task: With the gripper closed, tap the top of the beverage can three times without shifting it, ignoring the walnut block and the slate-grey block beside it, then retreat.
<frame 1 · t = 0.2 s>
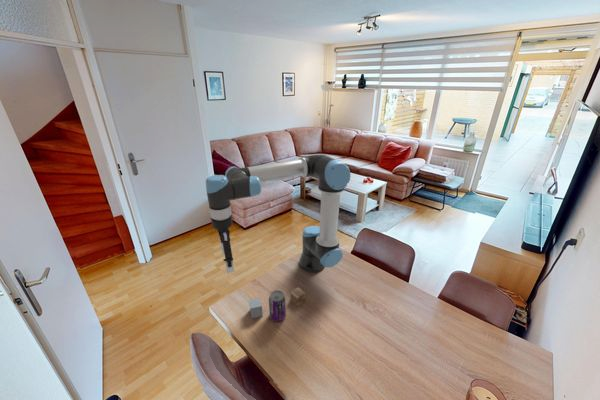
hand: (228, 262, 105), 28 cm above the table, fingers open, 13 cm apart
slate block: (256, 312, 115), on the table
walnut block: (297, 300, 122), on the table
beverage can: (277, 316, 114), on the table
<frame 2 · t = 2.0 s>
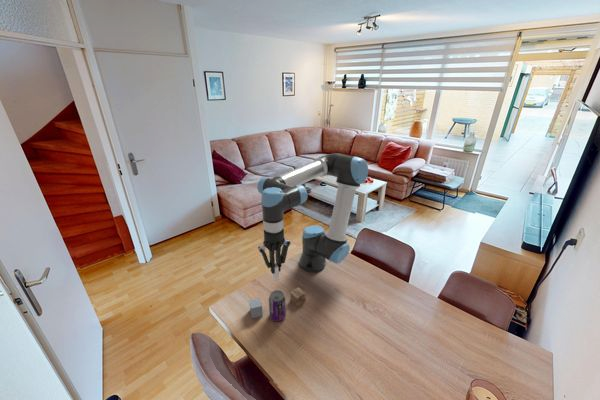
hand: (276, 278, 105), 21 cm above the table, fingers closed
nothing on the table moved.
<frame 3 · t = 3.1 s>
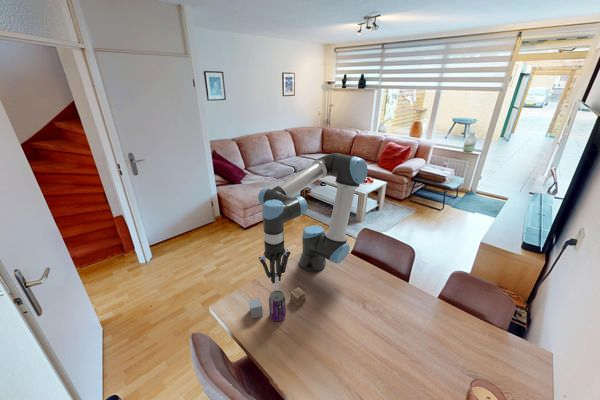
hand: (276, 287, 107), 17 cm above the table, fingers closed
nothing on the table moved.
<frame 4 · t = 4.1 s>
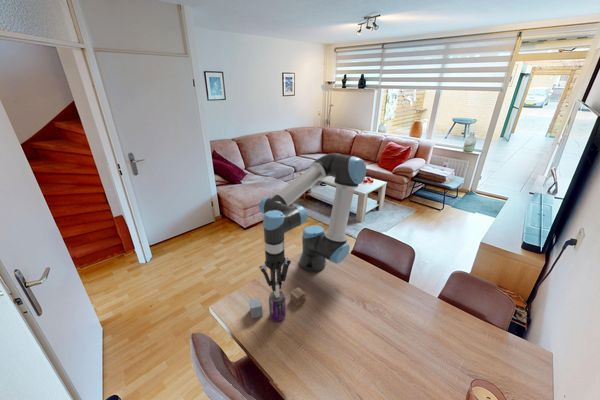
hand: (276, 295, 109), 12 cm above the table, fingers closed
beverage can: (277, 316, 114), on the table, touching gripper
everything else where it was.
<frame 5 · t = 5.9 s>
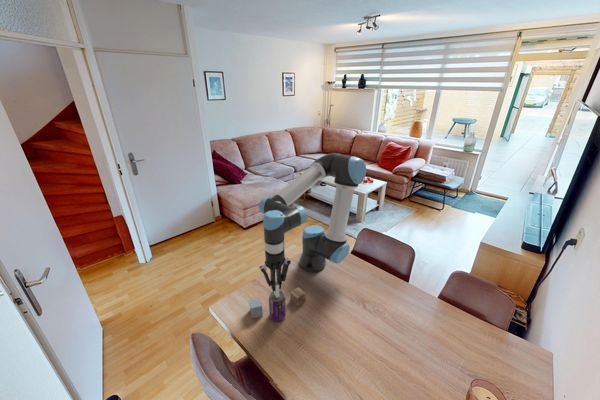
hand: (276, 295, 109), 12 cm above the table, fingers closed
nothing on the table moved.
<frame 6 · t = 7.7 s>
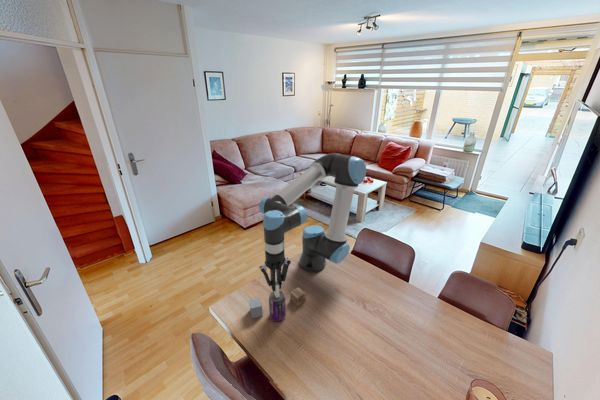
hand: (276, 295, 109), 12 cm above the table, fingers closed
nothing on the table moved.
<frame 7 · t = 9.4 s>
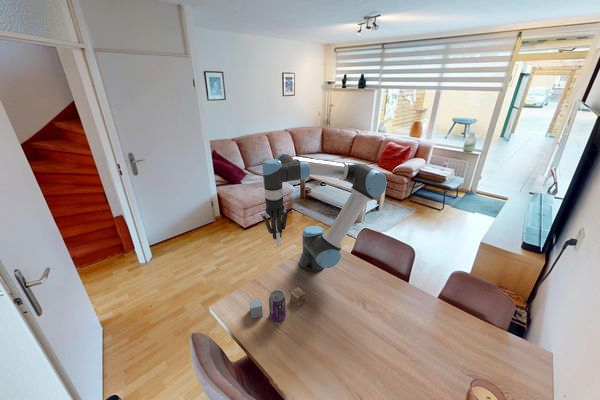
hand: (277, 243, 116), 28 cm above the table, fingers closed
beverage can: (277, 316, 114), on the table
everything else where it was.
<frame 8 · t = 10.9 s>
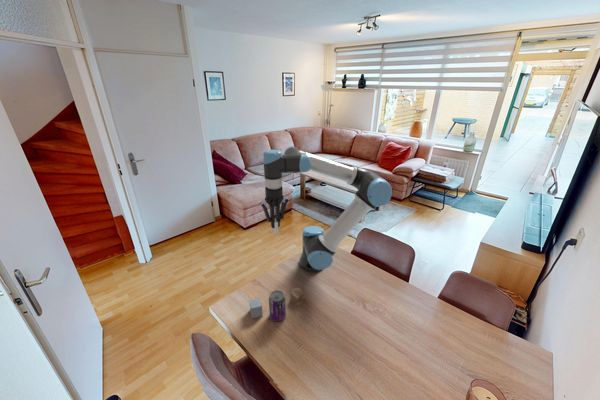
hand: (275, 233, 120), 30 cm above the table, fingers closed
nothing on the table moved.
at the end: beverage can moved 0.2 cm from its start; beverage can tilted 0°; beverage can touching table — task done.
